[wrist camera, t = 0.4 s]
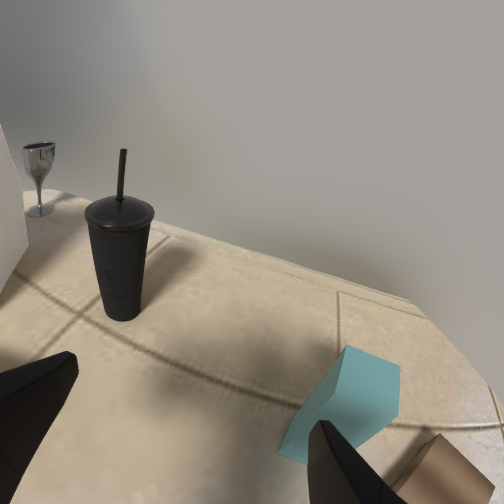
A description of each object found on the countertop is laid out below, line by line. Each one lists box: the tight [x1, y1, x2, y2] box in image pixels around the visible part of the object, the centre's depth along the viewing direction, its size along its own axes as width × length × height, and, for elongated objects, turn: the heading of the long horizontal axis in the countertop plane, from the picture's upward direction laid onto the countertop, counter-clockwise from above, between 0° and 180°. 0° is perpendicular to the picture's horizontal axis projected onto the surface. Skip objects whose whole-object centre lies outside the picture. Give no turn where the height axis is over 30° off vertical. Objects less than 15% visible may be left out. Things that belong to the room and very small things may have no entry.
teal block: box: [277, 345, 400, 465], centre depth 19 cm, size 5×5×12 cm
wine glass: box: [22, 141, 55, 217], centre depth 44 cm, size 8×8×15 cm
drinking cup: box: [84, 149, 155, 322], centre depth 28 cm, size 8×8×20 cm
